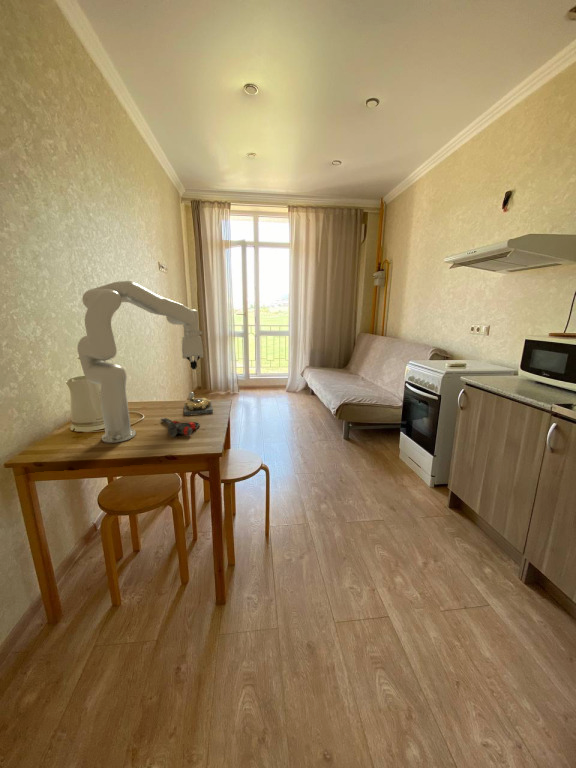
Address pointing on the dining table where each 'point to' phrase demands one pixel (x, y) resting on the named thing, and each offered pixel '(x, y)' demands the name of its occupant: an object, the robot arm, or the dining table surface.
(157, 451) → the dining table surface
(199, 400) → the beige lumpy block
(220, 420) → the dining table surface
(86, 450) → the dining table surface
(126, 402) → the robot arm
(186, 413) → the base plate
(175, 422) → the grey red jointed piece
